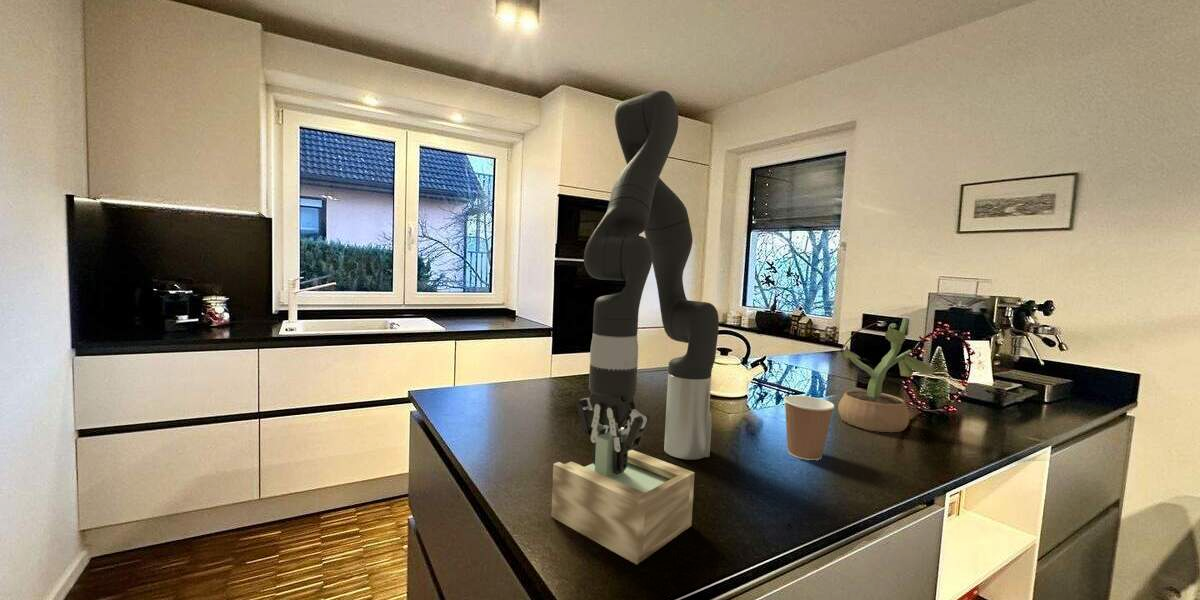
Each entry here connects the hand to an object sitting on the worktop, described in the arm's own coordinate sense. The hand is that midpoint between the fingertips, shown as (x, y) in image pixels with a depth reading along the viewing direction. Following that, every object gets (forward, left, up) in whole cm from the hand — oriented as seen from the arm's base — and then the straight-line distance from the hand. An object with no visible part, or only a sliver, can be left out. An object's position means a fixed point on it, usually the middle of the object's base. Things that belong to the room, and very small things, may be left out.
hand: (608, 467), depth 77 cm
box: (-2, +2, -8) cm, 8 cm away
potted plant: (-76, -47, -8) cm, 90 cm away
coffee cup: (-46, -27, -8) cm, 54 cm away
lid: (-2, +2, -2) cm, 3 cm away
